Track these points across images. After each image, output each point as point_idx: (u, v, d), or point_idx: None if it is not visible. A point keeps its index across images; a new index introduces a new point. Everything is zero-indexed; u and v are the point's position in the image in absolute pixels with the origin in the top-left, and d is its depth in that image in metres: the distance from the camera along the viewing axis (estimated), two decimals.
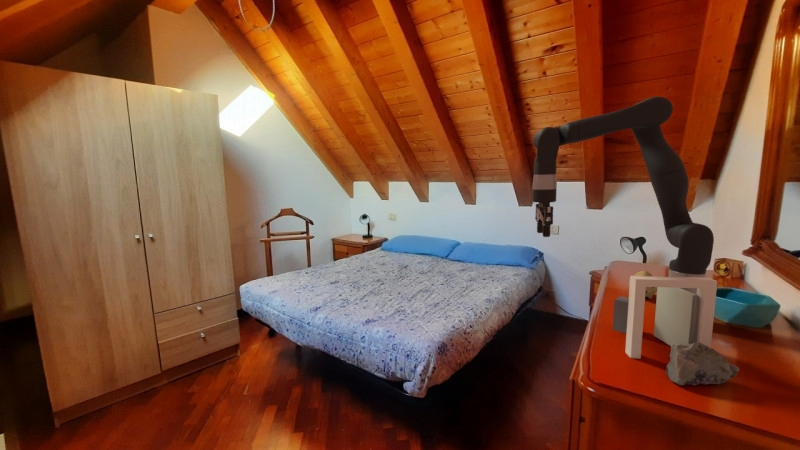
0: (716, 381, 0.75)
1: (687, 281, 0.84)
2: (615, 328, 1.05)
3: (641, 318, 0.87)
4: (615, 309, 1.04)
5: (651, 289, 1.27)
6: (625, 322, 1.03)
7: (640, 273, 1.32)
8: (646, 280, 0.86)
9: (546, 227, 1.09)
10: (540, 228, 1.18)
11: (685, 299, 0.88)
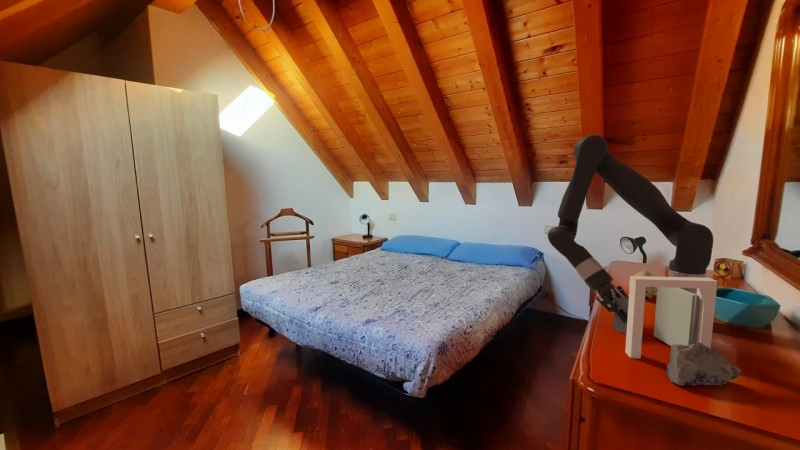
0: (716, 382, 0.75)
1: (687, 281, 0.84)
2: (615, 328, 1.05)
3: (641, 318, 0.87)
4: None
5: (651, 289, 1.27)
6: None
7: (640, 273, 1.32)
8: (646, 280, 0.86)
9: (617, 313, 1.03)
10: None
11: (685, 299, 0.88)
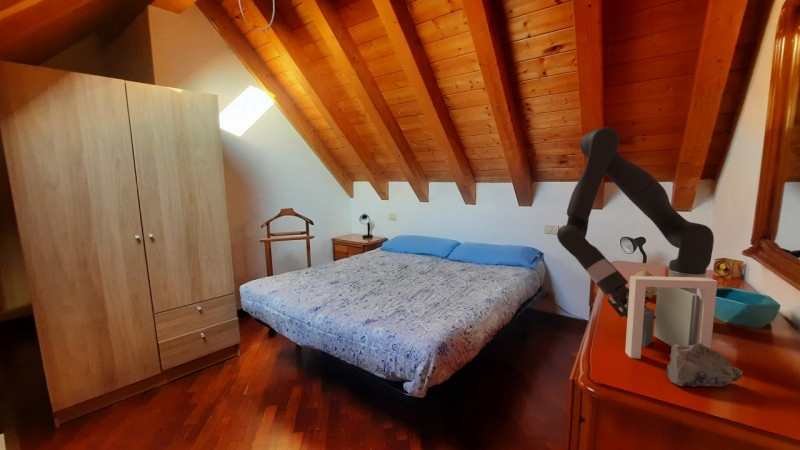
0: (717, 383, 0.74)
1: (687, 281, 0.84)
2: None
3: (641, 318, 0.87)
4: None
5: (651, 289, 1.27)
6: None
7: (640, 273, 1.32)
8: (646, 280, 0.86)
9: None
10: None
11: (685, 299, 0.88)
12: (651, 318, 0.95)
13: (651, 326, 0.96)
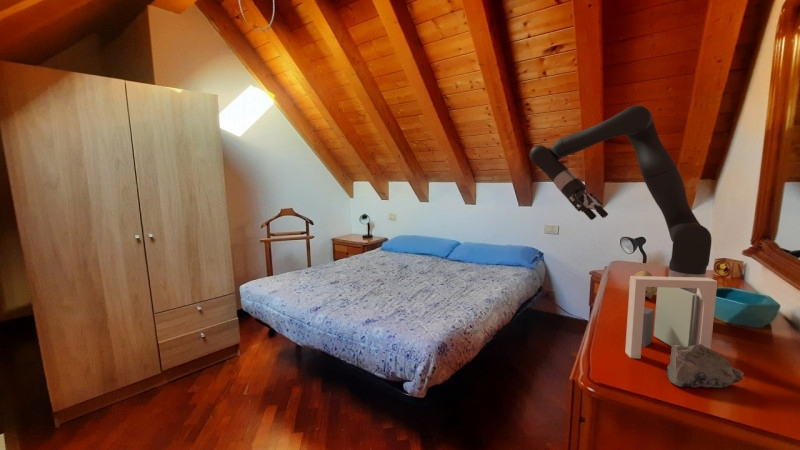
0: (717, 384, 0.74)
1: (687, 281, 0.84)
2: None
3: (641, 318, 0.87)
4: None
5: (651, 289, 1.27)
6: None
7: (640, 273, 1.32)
8: (646, 280, 0.86)
9: (585, 211, 1.14)
10: (602, 213, 1.19)
11: (685, 299, 0.88)
12: (651, 318, 0.95)
13: (651, 326, 0.96)
